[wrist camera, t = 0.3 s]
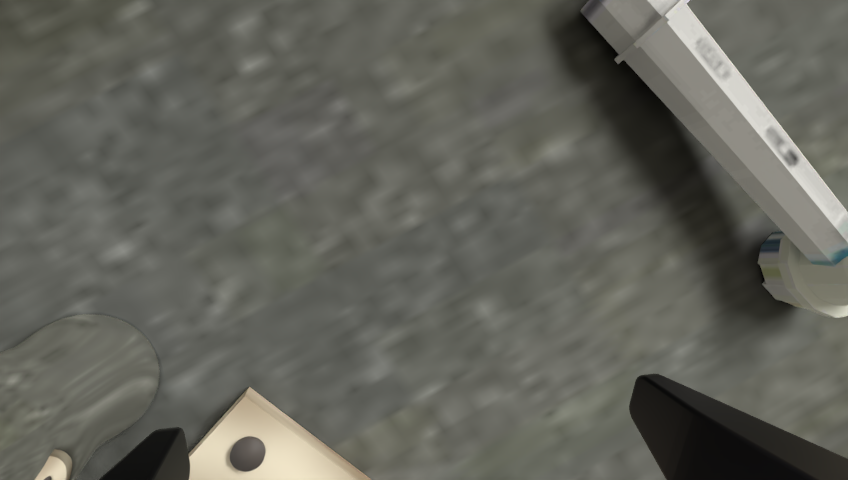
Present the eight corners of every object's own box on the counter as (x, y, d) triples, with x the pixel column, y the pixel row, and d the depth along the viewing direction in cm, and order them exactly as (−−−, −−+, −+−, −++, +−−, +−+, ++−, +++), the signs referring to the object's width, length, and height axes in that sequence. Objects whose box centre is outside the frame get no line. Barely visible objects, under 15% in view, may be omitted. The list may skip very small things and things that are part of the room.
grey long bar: (666, -77, 22) (977, 278, 23) (598, 1, 29) (842, 275, 30) (597, -14, 21) (921, 348, 23) (544, 51, 28) (796, 329, 29)
